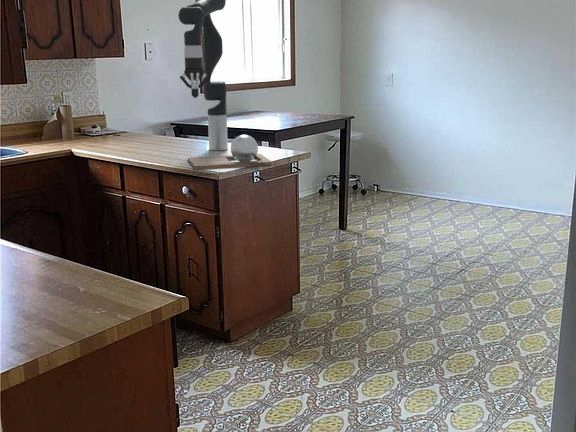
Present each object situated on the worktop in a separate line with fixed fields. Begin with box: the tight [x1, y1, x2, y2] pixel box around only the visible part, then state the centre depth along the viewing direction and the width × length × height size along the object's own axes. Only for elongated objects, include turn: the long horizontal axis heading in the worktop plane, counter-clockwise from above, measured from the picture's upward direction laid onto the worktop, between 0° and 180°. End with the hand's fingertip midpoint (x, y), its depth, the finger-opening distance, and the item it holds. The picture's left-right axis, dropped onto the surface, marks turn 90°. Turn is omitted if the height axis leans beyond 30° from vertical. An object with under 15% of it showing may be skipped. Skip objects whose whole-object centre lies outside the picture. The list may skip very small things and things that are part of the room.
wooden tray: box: [187, 153, 273, 170], centre depth 274 cm, size 22×33×2 cm, turn 106°
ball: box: [230, 134, 259, 162], centre depth 274 cm, size 12×12×12 cm
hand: (195, 97), depth 272 cm, fingers closed
